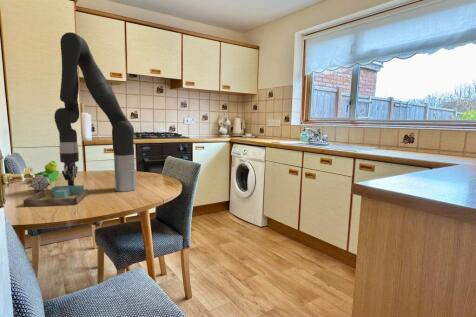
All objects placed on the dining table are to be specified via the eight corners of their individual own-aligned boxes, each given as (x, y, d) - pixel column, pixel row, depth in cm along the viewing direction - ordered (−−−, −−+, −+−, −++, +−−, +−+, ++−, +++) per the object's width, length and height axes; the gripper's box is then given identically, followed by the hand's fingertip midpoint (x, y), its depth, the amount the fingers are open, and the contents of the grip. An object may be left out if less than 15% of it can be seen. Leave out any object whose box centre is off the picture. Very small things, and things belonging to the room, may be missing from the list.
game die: (37, 199, 133) (21, 185, 127) (40, 189, 140) (24, 175, 134) (56, 189, 135) (40, 175, 128) (57, 180, 141) (42, 165, 135)
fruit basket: (45, 179, 159) (44, 159, 158) (62, 179, 160) (61, 159, 159) (33, 184, 148) (31, 162, 146) (51, 184, 149) (50, 162, 147)
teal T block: (83, 191, 135) (83, 185, 134) (75, 198, 124) (74, 191, 124) (55, 192, 133) (55, 186, 132) (44, 198, 122) (44, 192, 122)
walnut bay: (88, 194, 130) (88, 189, 129) (76, 204, 115) (76, 198, 115) (42, 196, 126) (41, 190, 126) (23, 206, 111) (23, 200, 111)
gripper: (72, 153, 127) (74, 191, 129) (82, 150, 140) (84, 184, 142) (53, 153, 126) (56, 191, 128) (66, 150, 138) (68, 184, 141)
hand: (71, 187), depth 135 cm, fingers closed
